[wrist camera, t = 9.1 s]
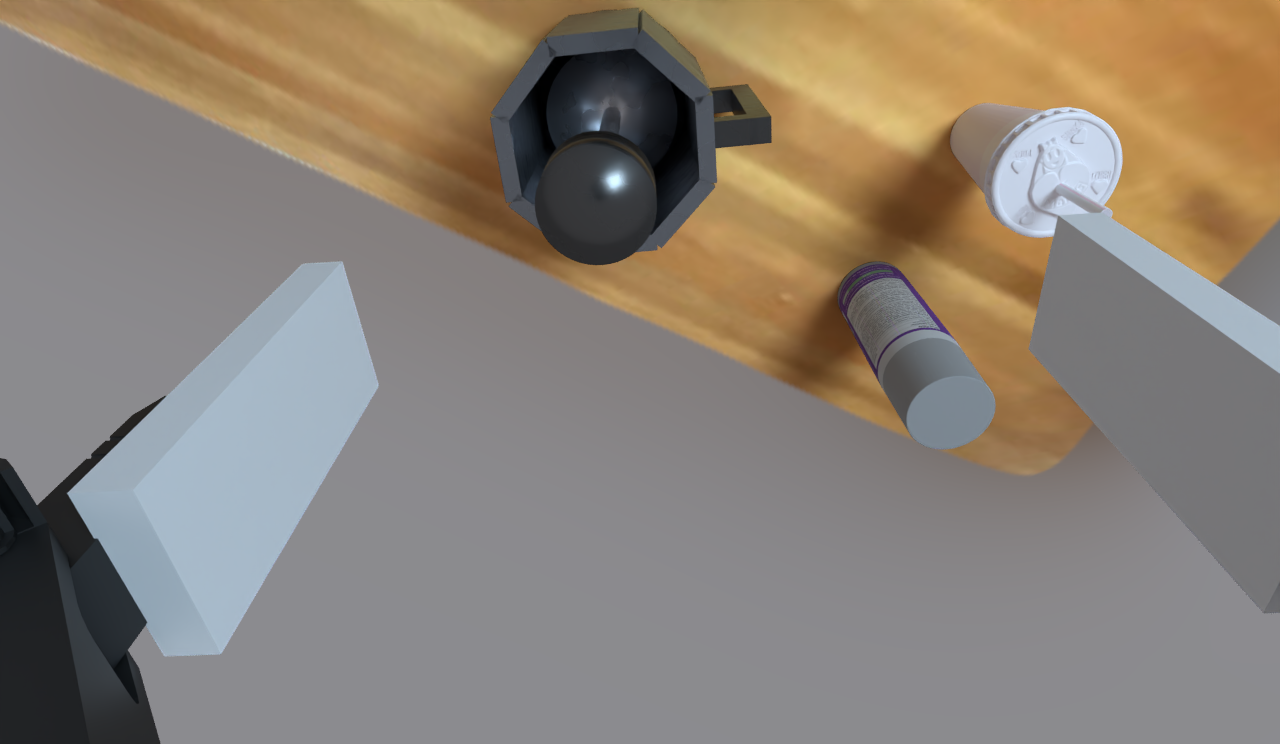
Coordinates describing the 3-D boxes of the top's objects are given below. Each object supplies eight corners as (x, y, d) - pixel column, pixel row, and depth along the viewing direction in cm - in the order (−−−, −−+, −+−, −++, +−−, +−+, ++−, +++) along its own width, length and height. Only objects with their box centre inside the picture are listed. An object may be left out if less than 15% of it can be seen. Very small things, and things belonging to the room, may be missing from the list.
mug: (516, 19, 43) (476, 44, 32) (741, -5, 42) (773, 12, 32) (544, 192, 48) (517, 262, 37) (745, 173, 47) (775, 239, 37)
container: (909, 315, 52) (999, 440, 39) (841, 331, 52) (907, 459, 39) (903, 253, 50) (996, 364, 37) (832, 270, 50) (899, 385, 37)
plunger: (538, 50, 40) (477, 114, 25) (671, 36, 40) (689, 93, 25) (558, 183, 44) (514, 306, 29) (681, 171, 44) (701, 290, 29)
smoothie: (945, 204, 48) (1048, 293, 36) (913, 112, 45) (1013, 174, 33) (1046, 156, 46) (1190, 232, 34) (1020, 57, 44) (1166, 102, 31)
